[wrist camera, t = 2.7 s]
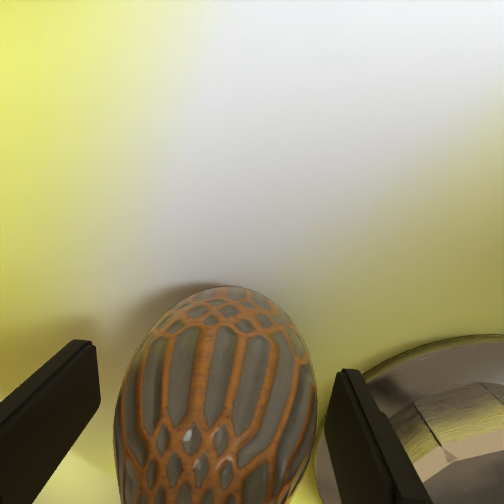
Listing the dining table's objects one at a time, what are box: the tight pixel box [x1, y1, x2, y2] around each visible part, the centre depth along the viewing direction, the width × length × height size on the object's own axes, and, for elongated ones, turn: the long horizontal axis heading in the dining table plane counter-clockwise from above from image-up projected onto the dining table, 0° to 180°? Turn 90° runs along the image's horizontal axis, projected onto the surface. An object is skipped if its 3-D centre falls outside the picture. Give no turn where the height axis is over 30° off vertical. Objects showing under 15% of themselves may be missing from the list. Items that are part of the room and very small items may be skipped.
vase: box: [113, 287, 317, 504], centre depth 9 cm, size 7×7×9 cm
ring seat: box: [313, 334, 504, 504], centre depth 13 cm, size 17×17×3 cm
